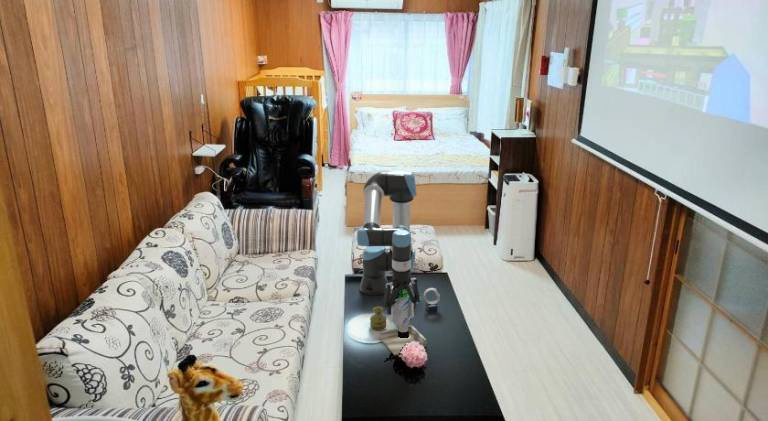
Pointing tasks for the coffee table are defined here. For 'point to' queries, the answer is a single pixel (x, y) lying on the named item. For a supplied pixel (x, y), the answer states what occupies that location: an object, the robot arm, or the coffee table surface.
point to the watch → (432, 305)
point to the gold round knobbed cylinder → (378, 319)
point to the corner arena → (400, 339)
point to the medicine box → (401, 311)
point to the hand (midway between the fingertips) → (401, 318)
